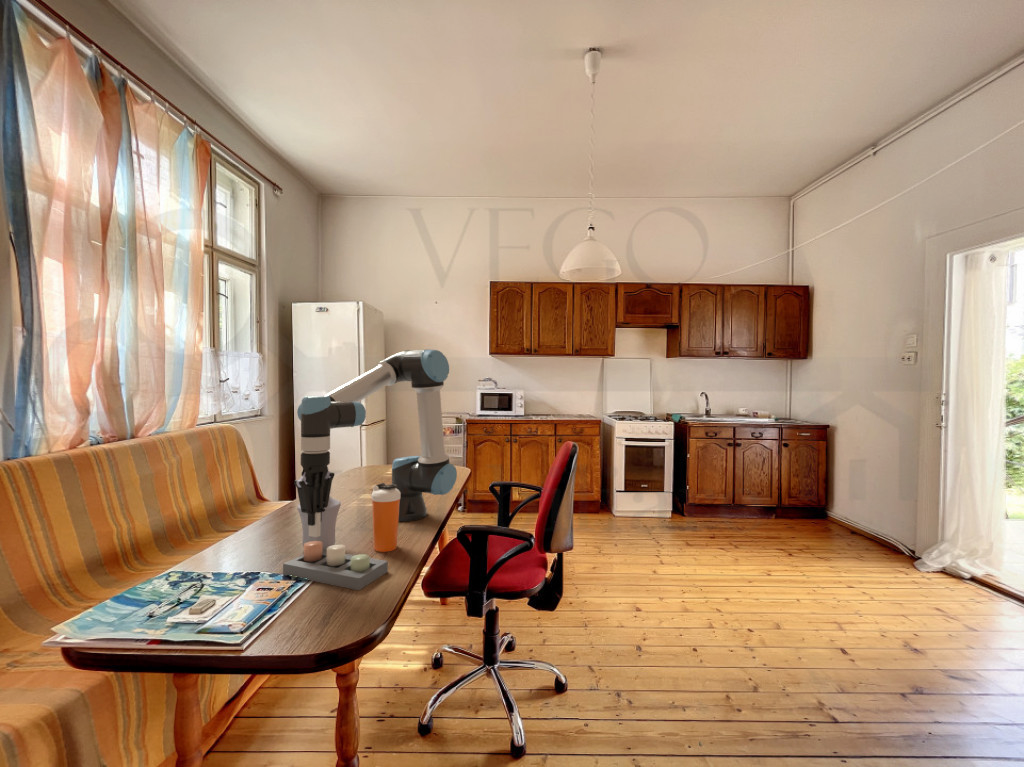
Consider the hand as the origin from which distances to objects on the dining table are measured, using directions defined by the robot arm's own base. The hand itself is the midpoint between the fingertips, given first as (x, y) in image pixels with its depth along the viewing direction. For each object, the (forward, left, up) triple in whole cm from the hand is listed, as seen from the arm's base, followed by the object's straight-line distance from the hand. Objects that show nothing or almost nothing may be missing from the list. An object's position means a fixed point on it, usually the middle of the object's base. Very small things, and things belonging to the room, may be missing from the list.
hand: (314, 535), depth 127 cm
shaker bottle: (-21, +9, -10) cm, 25 cm away
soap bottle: (-13, -10, -10) cm, 19 cm away
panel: (0, +8, -9) cm, 12 cm away
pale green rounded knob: (0, +16, -8) cm, 17 cm away
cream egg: (0, +7, -6) cm, 10 cm away
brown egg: (0, -1, -6) cm, 6 cm away
